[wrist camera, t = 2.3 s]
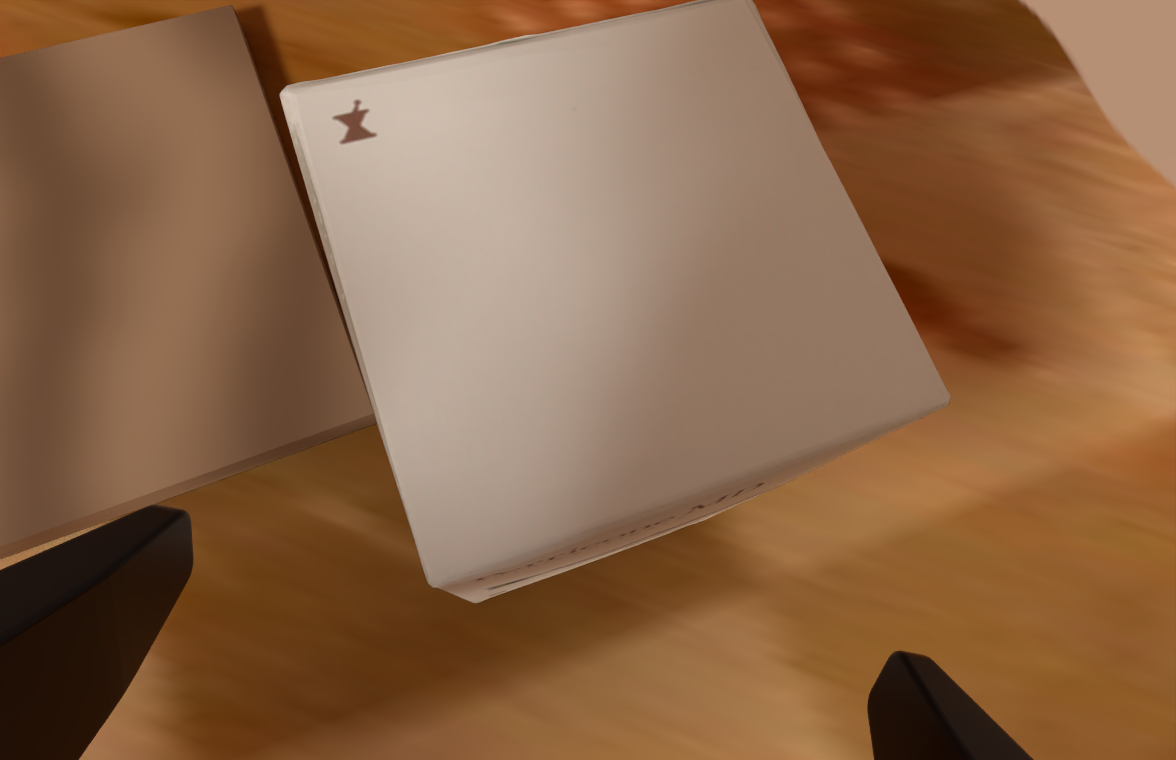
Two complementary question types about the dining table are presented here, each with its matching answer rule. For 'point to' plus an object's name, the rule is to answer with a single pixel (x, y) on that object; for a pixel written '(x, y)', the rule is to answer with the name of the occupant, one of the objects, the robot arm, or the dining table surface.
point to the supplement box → (599, 286)
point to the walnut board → (154, 280)
